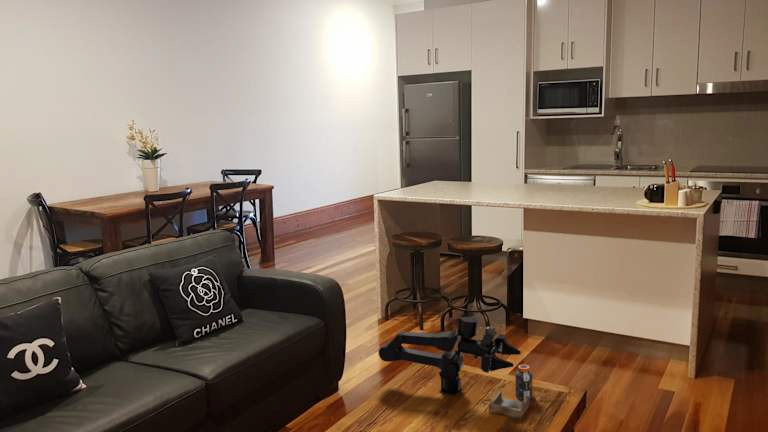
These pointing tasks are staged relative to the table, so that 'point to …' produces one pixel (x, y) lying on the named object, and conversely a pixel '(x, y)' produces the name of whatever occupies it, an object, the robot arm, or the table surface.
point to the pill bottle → (524, 382)
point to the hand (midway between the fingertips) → (517, 359)
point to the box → (508, 406)
